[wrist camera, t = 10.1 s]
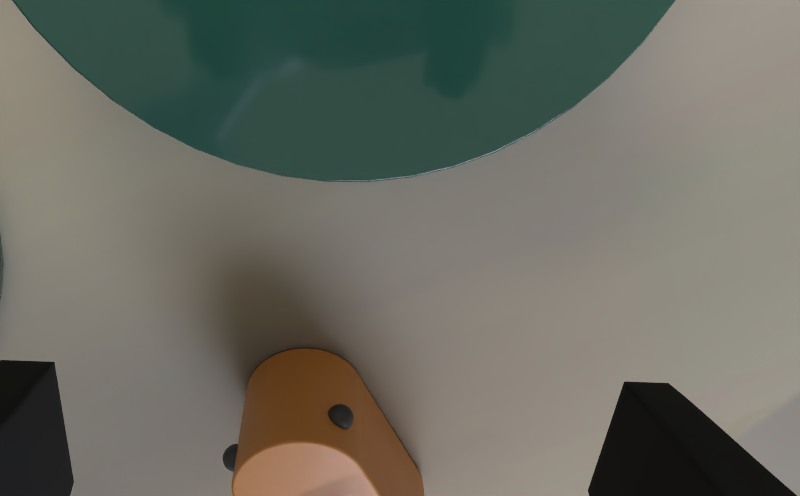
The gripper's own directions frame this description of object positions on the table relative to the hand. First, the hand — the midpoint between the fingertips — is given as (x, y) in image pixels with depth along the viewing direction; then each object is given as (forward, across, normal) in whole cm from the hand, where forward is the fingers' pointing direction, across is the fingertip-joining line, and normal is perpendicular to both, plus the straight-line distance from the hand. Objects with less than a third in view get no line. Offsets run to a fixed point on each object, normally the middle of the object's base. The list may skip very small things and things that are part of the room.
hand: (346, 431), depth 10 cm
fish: (+10, -1, +10) cm, 14 cm away
